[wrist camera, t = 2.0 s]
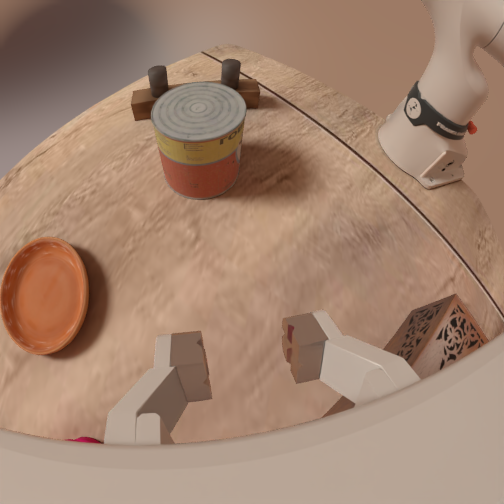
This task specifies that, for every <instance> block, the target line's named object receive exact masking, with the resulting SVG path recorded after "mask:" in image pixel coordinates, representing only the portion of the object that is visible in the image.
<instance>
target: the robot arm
mask: <svg viewBox="0 0 504 504" xmlns="http://www.w3.org/2000/svg"><path fill="white" fill-rule="evenodd" d="M421 1H422V2H423V4H424V6H425V7H426V9H427V11H428V13H429V15H430V17H431V19H432V22H433V26H434V30H435V47H434V52H433V55H432V57H431V60H430V62H429V64H428V66H427V68H426V70H425V72H424V74H423V76H422V77H421V79H420V81H417V82H416V83H415V84H414V85H413V86H412V88H411V91H410V92H409V94H408V96H407V97H406V98H405V99H404V100H403V101H402V103H401V104H400V105H399V106H398V107H397V109H396V110H395V111H394V113H393V114H389V115H388V116H387V118H386V123H385V124H383V125H382V126H381V127H380V129H379V132H378V137H379V141H380V144H381V146H382V148H383V150H384V151H385V153H386V154H387V155H388V157H389V158H390V159H391V160H392V161H393V162H394V163H395V164H396V165H397V166H398V167H399V168H401V169H402V170H403V171H405V172H406V173H408V174H410V175H411V176H413V177H414V178H416V179H417V180H418V181H419V182H420V183H421V184H422V185H423V186H424V187H425V188H427V189H431V188H435V187H438V186H441V185H444V184H448V183H451V182H454V181H458V180H461V179H462V178H463V177H464V172H463V168H462V165H461V164H462V163H463V162H464V161H465V159H466V158H467V148H466V144H465V141H464V135H465V133H466V130H467V129H468V132H469V133H470V134H473V133H475V132H476V131H477V128H476V126H475V125H474V124H473V122H472V121H470V120H471V119H472V117H473V116H474V115H475V114H476V113H477V111H478V110H479V109H480V107H481V106H482V105H483V104H484V102H485V101H486V100H487V97H488V84H487V81H486V79H485V77H484V75H483V73H482V71H481V69H480V67H479V66H478V64H477V62H476V61H475V59H474V57H473V52H474V49H475V47H476V46H479V47H480V48H482V49H484V50H485V51H486V52H487V53H488V54H490V55H491V56H492V57H493V58H494V59H495V60H497V61H498V62H499V63H500V64H501V65H502V66H503V67H504V0H421ZM282 328H283V331H284V333H285V334H284V335H283V336H282V347H283V353H284V356H285V359H286V361H287V362H288V363H290V364H291V370H290V371H291V373H292V375H293V377H294V380H295V382H296V384H298V383H302V382H307V381H311V380H316V379H320V380H321V381H322V382H324V383H325V384H327V385H328V386H330V387H331V388H333V389H334V390H336V391H337V392H339V393H340V394H342V395H343V396H345V397H346V398H348V399H349V400H351V401H352V402H354V403H356V404H355V406H354V408H351V409H348V410H345V411H342V412H339V413H336V414H333V415H330V416H327V417H323V418H320V419H316V420H313V421H309V422H305V423H302V424H298V425H294V426H290V427H285V428H281V429H276V430H272V431H267V432H262V433H257V434H251V435H246V436H240V437H233V438H226V439H219V440H211V441H201V442H191V443H177V444H175V443H174V441H173V439H172V438H171V436H170V433H171V432H172V430H173V428H174V427H175V425H176V423H177V422H178V420H179V418H180V417H181V415H182V413H183V411H184V410H185V408H186V406H187V405H188V402H196V401H203V400H210V399H212V393H211V385H210V380H209V370H208V363H207V358H206V352H205V349H204V345H203V338H202V333H201V331H193V332H183V333H172V334H163V335H158V336H157V338H156V346H155V357H154V368H151V369H149V370H148V371H147V372H146V373H145V374H144V375H143V376H142V377H141V378H140V379H139V380H138V381H137V382H136V384H135V385H134V386H133V387H132V388H131V389H130V390H129V391H128V392H127V393H126V394H125V395H124V396H123V397H122V399H121V400H120V401H119V402H118V403H117V404H116V405H115V406H114V407H113V408H112V409H111V410H110V411H109V412H108V417H107V424H106V431H105V438H104V444H98V443H86V442H76V441H67V440H59V439H53V438H46V437H40V436H35V435H30V434H25V433H20V432H16V431H12V430H8V429H4V428H0V504H504V332H503V333H501V334H500V335H498V336H497V337H495V338H494V339H492V340H491V341H489V342H488V343H486V344H485V345H483V346H482V347H480V348H478V349H477V350H475V351H473V352H472V353H470V354H469V355H467V356H465V357H463V358H462V359H460V360H458V361H456V362H455V363H453V364H451V365H449V366H447V367H445V368H444V369H442V370H440V371H438V372H436V373H434V374H432V375H430V376H428V377H426V378H424V379H422V380H421V379H420V378H419V376H418V375H417V374H416V373H415V372H414V370H413V369H412V368H411V367H410V365H409V364H408V363H407V362H406V361H405V359H404V358H402V357H400V356H397V355H395V354H392V353H390V352H387V351H385V350H382V349H380V348H377V347H375V346H372V345H370V344H368V343H365V342H363V341H360V340H358V339H356V338H353V337H351V336H348V335H346V336H344V335H343V334H342V333H341V331H340V330H339V328H338V327H337V326H336V324H335V323H334V322H333V320H332V319H331V317H330V316H329V315H328V313H327V312H326V311H325V310H318V311H314V312H310V313H307V314H302V315H297V316H291V317H286V318H283V320H282Z"/></svg>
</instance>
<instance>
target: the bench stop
mask: <svg viewBox="0 0 504 504" xmlns="http://www.w3.org/2000/svg"><path fill="white" fill-rule="evenodd" d="M240 66H241V63H240V61H238V60H235V59H227V60H224V61H223V62H222V75H221V80H219V81H205V82H214V83H219V84H222V85H225V86H228V87H230V88H232V89H234V90H235V91H236V92H238V93H239V94H240V95H241V96H242V97H243V99H244V101H245V103H246V108H258V102H259V96H260V89H259V86H258V84H257V81H256V79H242V80H239V75H240ZM148 76H149V82H150V88H148V89H142V90H137V91H133V96H132V101H131V106H132V110H133V114H134V118H135V121H136V120H142V119H148V118H151V111H152V108H153V106H154V104H155V102H156V101H157V100H158V99H159V98H160V97H161V96H162V95H163V94H164V93H166V92H167V91H169V90H171V89H173V88H175V87H177V86H180V85H183V84H176V85H168V80H167V71H166V67H165V66H154V67H152V68H151V69H149V70H148ZM184 84H187V83H184Z"/></svg>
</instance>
